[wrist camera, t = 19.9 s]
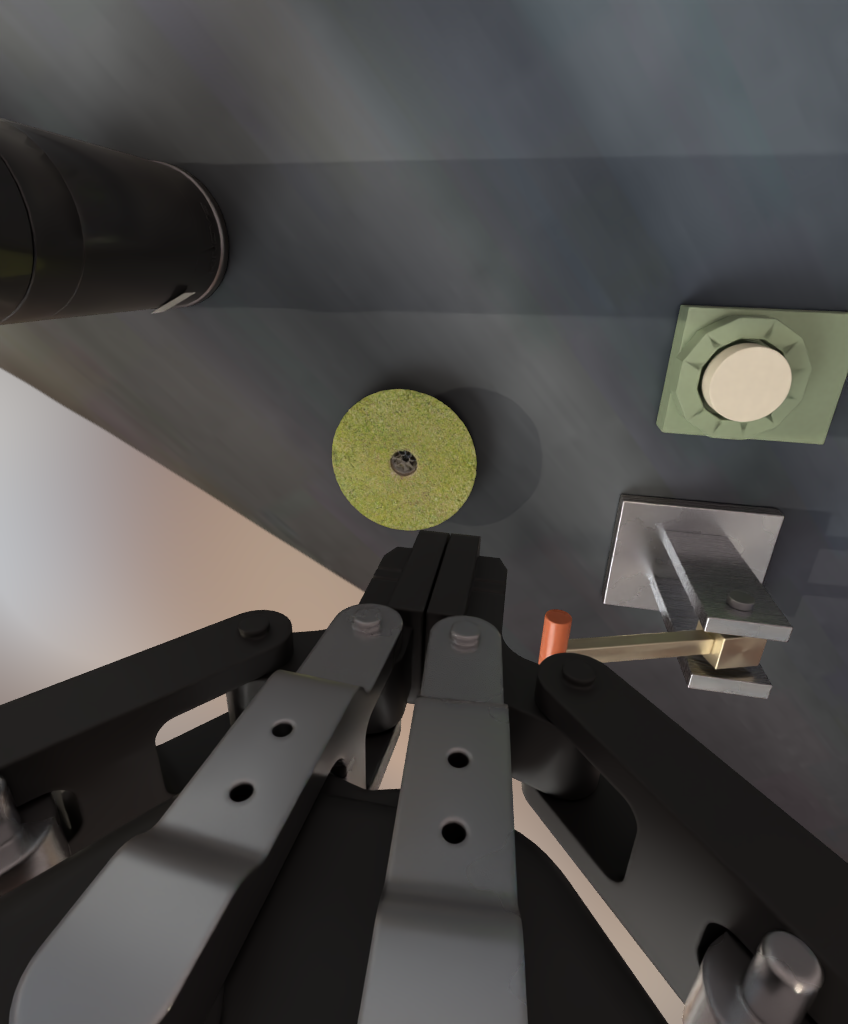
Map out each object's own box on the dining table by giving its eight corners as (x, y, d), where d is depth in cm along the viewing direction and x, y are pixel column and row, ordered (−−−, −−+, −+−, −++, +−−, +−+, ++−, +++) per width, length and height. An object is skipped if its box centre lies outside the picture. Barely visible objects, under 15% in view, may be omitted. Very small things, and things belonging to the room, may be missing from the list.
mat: (325, 493, 46) (317, 501, 45) (358, 363, 42) (350, 367, 40) (451, 539, 46) (448, 550, 44) (499, 414, 41) (498, 420, 39)
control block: (653, 424, 40) (665, 439, 36) (678, 304, 36) (694, 308, 33) (808, 435, 38) (837, 452, 34) (848, 311, 35) (885, 316, 31)
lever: (529, 675, 33) (542, 703, 31) (538, 605, 31) (554, 630, 29) (726, 659, 35) (752, 684, 33) (747, 591, 33) (776, 615, 31)
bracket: (601, 595, 46) (623, 705, 34) (620, 493, 42) (653, 579, 30) (744, 612, 44) (819, 734, 32) (777, 508, 40) (874, 604, 29)
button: (694, 412, 35) (701, 419, 34) (710, 340, 34) (719, 344, 32) (768, 417, 35) (779, 425, 33) (789, 344, 33) (802, 348, 31)
